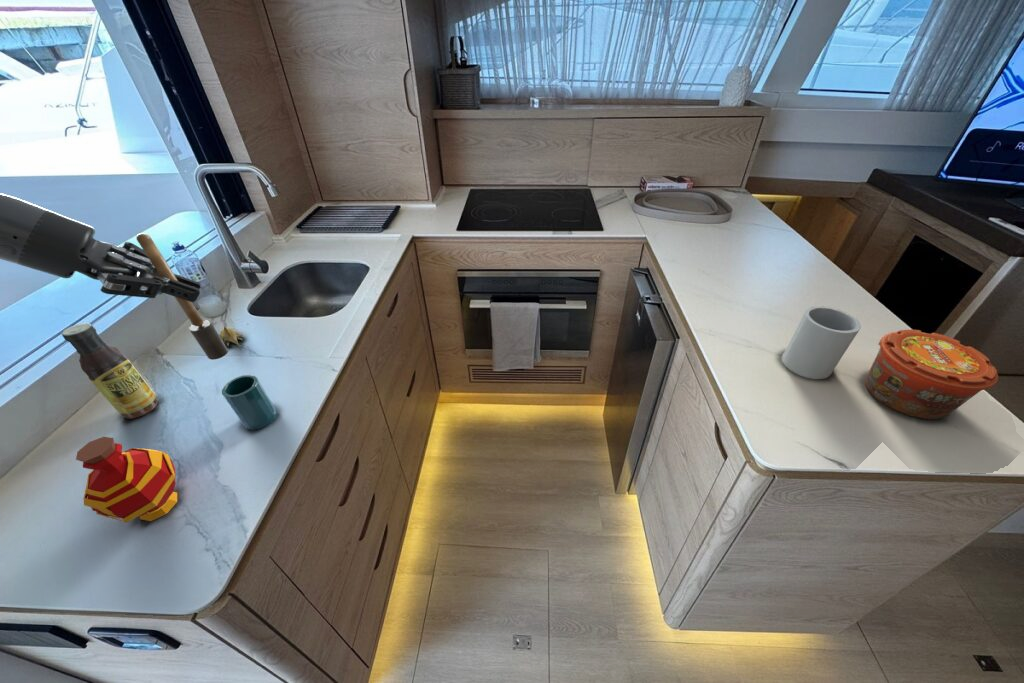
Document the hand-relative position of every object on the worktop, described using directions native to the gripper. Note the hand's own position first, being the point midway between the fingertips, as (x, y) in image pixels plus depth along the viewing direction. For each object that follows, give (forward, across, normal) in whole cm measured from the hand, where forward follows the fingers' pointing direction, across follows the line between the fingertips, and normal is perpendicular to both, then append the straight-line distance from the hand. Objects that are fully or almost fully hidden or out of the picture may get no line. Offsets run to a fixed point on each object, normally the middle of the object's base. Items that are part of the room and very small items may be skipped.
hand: (197, 292), depth 61 cm
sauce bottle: (+4, +16, +36) cm, 40 cm away
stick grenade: (+7, 0, +10) cm, 12 cm away
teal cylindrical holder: (+18, 0, +21) cm, 28 cm away
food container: (+97, -61, -57) cm, 128 cm away
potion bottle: (+8, -12, +32) cm, 35 cm away
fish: (+16, +30, +24) cm, 42 cm away
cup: (+92, -46, -52) cm, 115 cm away
